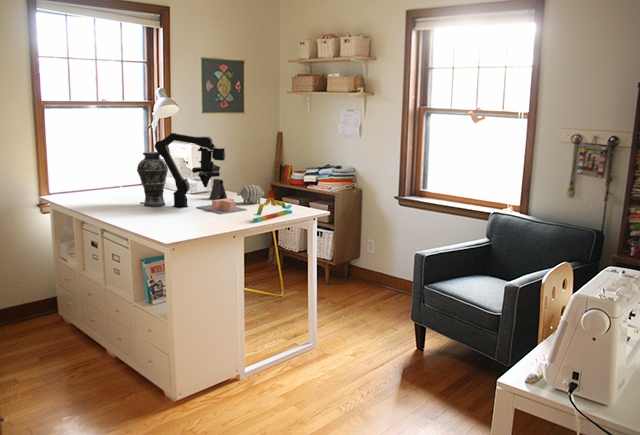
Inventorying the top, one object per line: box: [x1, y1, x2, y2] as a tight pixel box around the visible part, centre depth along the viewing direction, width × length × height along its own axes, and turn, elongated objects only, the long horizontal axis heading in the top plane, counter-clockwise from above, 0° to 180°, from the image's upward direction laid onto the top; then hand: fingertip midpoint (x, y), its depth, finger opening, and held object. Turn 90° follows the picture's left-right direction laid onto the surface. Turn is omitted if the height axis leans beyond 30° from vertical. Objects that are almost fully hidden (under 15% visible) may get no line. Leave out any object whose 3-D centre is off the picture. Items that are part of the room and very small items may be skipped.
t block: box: [211, 197, 236, 211], centre depth 332 cm, size 12×10×5 cm
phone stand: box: [209, 178, 228, 201], centre depth 366 cm, size 9×6×12 cm, turn 137°
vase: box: [136, 151, 169, 208], centre depth 339 cm, size 17×17×30 cm
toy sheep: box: [236, 184, 265, 205], centre depth 354 cm, size 11×17×11 cm, turn 123°
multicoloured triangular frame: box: [252, 190, 293, 223], centre depth 316 cm, size 30×3×15 cm, turn 148°
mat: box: [196, 204, 248, 215], centre depth 336 cm, size 18×23×1 cm
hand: (205, 187), depth 337 cm, fingers closed
